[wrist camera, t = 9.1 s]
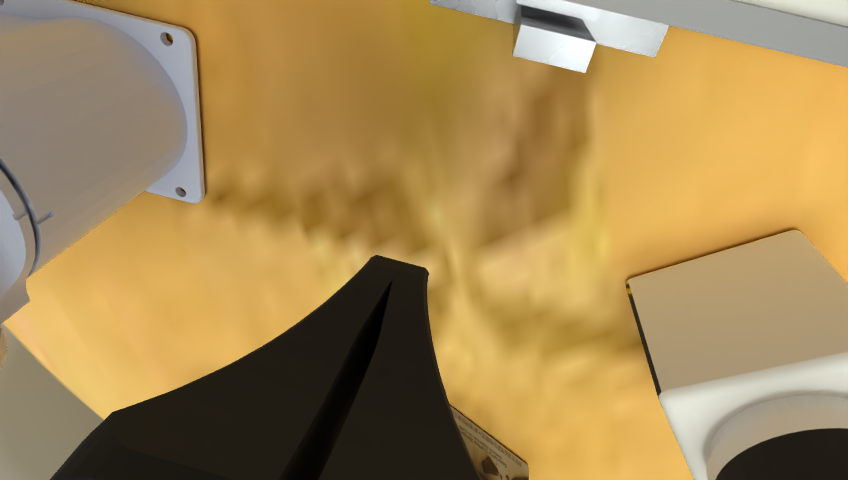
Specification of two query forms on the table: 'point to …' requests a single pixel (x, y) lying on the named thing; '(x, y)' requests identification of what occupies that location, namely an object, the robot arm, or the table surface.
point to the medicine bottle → (751, 359)
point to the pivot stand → (565, 29)
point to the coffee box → (489, 453)
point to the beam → (752, 22)
